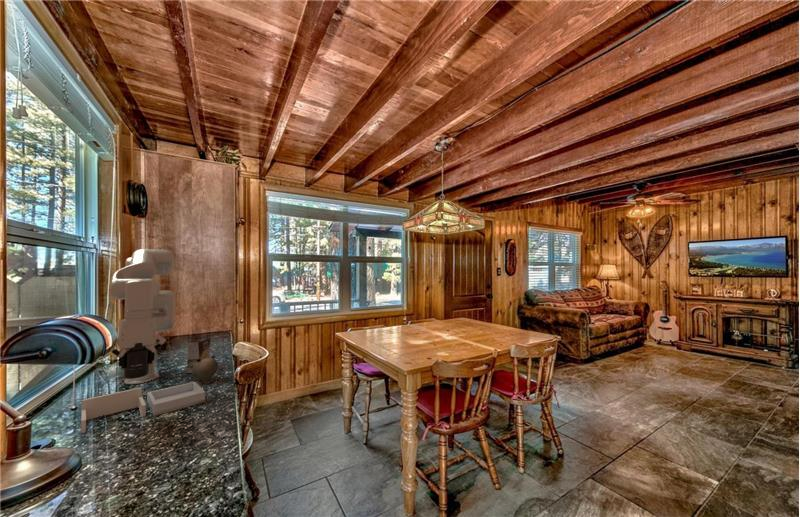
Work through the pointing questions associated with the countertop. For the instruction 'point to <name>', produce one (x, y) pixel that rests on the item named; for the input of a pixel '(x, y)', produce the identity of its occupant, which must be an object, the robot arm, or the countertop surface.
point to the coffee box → (197, 351)
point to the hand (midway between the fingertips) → (136, 365)
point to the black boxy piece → (136, 362)
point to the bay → (111, 405)
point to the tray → (175, 398)
